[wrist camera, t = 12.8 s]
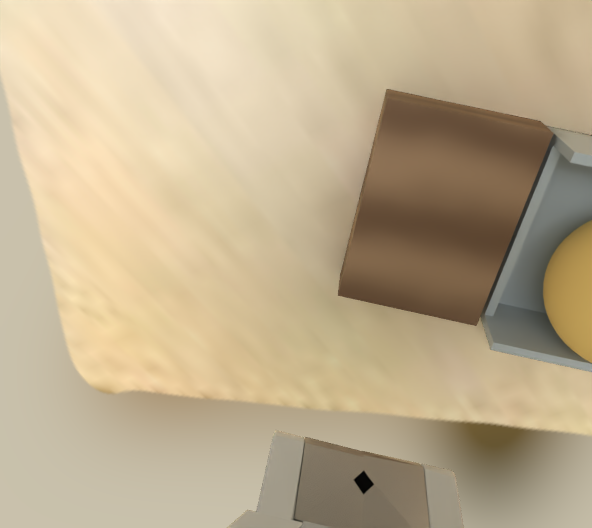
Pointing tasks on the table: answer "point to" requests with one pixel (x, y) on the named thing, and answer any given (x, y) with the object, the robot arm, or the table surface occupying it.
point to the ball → (571, 291)
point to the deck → (439, 205)
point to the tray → (541, 254)
